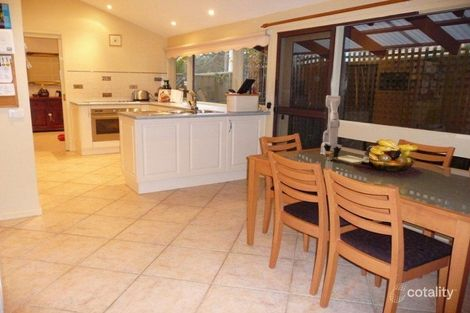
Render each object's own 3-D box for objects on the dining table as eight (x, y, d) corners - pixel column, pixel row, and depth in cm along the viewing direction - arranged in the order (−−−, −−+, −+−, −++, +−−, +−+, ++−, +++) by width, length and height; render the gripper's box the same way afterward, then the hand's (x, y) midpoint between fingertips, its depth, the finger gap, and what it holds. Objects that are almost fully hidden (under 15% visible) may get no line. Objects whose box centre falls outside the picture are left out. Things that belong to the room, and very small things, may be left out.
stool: (329, 161, 241) (330, 152, 240) (324, 159, 246) (325, 151, 244) (338, 160, 245) (338, 151, 244) (332, 158, 250) (333, 150, 248)
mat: (333, 157, 253) (333, 157, 253) (348, 156, 261) (349, 155, 261) (352, 163, 238) (352, 162, 238) (368, 161, 246) (368, 160, 246)
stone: (358, 166, 235) (359, 145, 239) (364, 170, 241) (365, 150, 245) (379, 165, 225) (379, 143, 229) (384, 169, 232) (385, 147, 236)
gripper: (321, 136, 246) (320, 154, 249) (336, 139, 234) (335, 158, 237) (328, 135, 250) (327, 154, 253) (344, 138, 238) (342, 158, 240)
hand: (331, 156), depth 245 cm, fingers open, 7 cm apart
